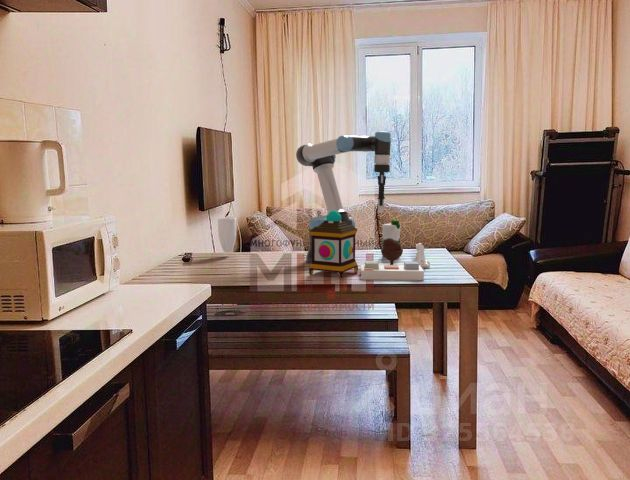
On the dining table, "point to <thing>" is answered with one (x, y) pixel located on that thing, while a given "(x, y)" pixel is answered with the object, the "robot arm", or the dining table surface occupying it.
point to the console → (392, 273)
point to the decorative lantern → (333, 245)
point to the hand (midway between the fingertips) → (380, 212)
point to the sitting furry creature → (421, 256)
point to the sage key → (372, 264)
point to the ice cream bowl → (391, 250)
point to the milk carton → (391, 231)
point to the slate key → (411, 265)
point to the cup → (227, 232)
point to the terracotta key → (391, 267)
